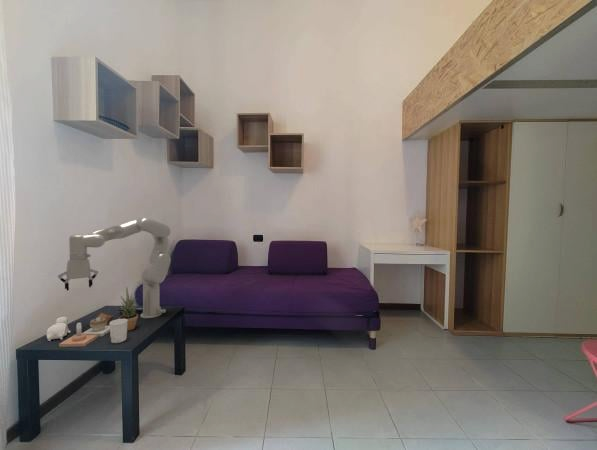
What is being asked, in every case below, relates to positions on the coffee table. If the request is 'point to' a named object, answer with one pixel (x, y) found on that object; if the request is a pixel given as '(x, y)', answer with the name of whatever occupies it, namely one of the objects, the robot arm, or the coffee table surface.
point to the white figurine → (58, 329)
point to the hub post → (78, 338)
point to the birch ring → (98, 323)
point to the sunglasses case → (105, 317)
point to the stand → (98, 330)
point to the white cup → (118, 330)
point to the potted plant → (129, 311)
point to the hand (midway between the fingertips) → (79, 288)
